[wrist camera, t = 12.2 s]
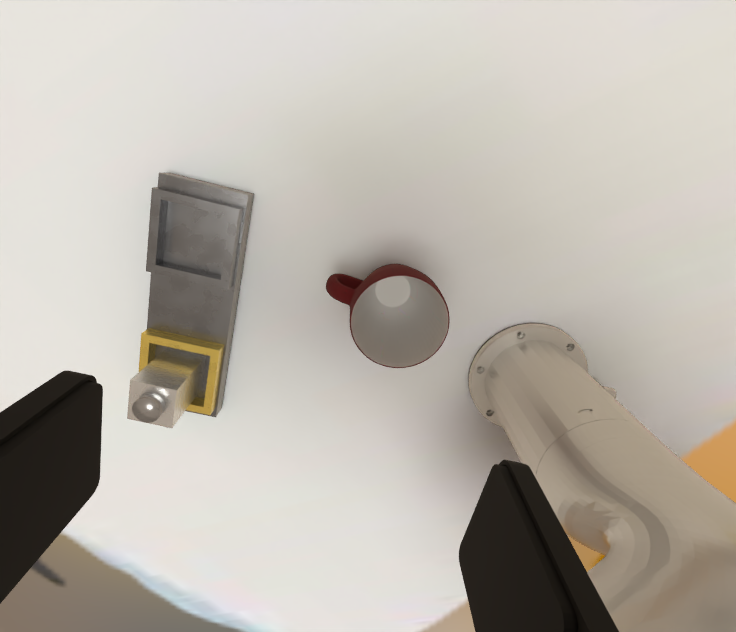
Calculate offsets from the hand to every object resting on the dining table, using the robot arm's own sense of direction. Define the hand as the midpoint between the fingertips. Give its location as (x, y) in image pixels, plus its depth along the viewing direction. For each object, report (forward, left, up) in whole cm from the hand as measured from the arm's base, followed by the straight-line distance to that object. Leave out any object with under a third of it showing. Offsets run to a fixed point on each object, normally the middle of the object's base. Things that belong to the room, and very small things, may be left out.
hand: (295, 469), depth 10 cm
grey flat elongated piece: (+14, +10, -33) cm, 37 cm away
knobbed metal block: (+14, +17, -31) cm, 38 cm away
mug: (-4, +4, -33) cm, 34 cm away
